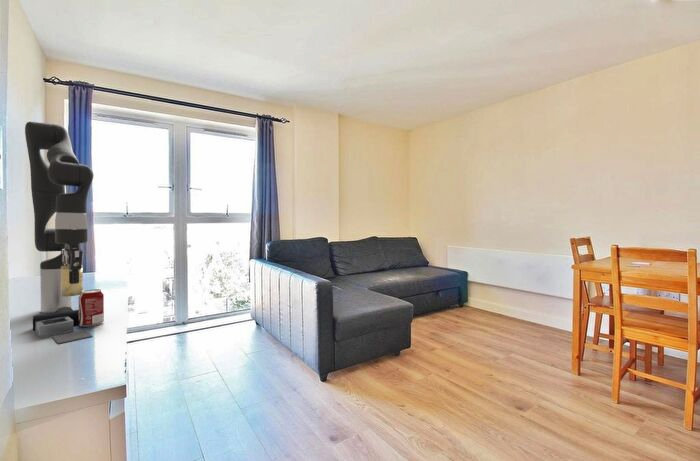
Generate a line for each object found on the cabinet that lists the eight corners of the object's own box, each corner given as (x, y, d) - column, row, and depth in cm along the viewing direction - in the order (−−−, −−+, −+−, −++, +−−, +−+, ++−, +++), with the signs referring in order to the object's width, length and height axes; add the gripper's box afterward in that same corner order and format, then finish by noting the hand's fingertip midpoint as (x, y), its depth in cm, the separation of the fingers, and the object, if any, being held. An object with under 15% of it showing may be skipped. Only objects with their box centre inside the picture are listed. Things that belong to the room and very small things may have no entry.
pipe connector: (35, 309, 111) (90, 302, 121) (35, 324, 111) (90, 316, 121) (32, 317, 102) (92, 309, 112) (32, 333, 102) (92, 323, 112)
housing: (35, 332, 102) (35, 321, 102) (68, 326, 108) (68, 316, 108) (39, 338, 97) (39, 326, 97) (73, 331, 103) (73, 320, 103)
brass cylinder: (59, 294, 97) (59, 265, 97) (80, 292, 101) (80, 264, 101) (63, 297, 94) (62, 267, 94) (84, 294, 98) (84, 265, 98)
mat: (52, 338, 97) (52, 336, 97) (85, 331, 103) (85, 330, 103) (57, 344, 92) (57, 342, 92) (92, 336, 98) (92, 335, 98)
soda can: (107, 323, 111) (107, 290, 111) (84, 329, 105) (84, 293, 105) (97, 320, 114) (97, 288, 114) (74, 326, 108) (74, 291, 108)
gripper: (50, 227, 99) (51, 281, 99) (60, 228, 90) (60, 287, 90) (81, 227, 104) (81, 278, 105) (93, 228, 96) (93, 283, 96)
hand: (72, 282), depth 97 cm, fingers closed on brass cylinder, 5 cm apart
